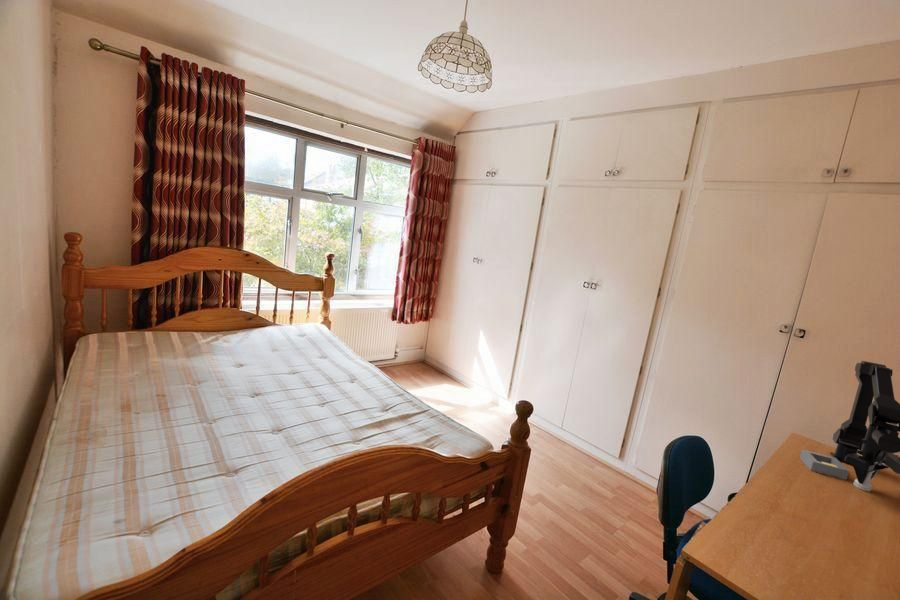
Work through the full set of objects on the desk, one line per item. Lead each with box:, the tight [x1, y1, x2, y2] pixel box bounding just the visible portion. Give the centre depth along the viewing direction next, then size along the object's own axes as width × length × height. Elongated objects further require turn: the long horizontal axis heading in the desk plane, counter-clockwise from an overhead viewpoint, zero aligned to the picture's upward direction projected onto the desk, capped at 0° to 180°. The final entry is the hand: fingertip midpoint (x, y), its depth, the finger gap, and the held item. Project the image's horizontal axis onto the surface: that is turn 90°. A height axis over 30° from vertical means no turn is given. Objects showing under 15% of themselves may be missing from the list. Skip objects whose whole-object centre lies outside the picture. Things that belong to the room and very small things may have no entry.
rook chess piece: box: [852, 471, 875, 492], centre depth 136 cm, size 4×4×8 cm
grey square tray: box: [799, 448, 850, 481], centre depth 146 cm, size 10×10×4 cm
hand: (863, 482), depth 136 cm, fingers closed on rook chess piece, 3 cm apart
